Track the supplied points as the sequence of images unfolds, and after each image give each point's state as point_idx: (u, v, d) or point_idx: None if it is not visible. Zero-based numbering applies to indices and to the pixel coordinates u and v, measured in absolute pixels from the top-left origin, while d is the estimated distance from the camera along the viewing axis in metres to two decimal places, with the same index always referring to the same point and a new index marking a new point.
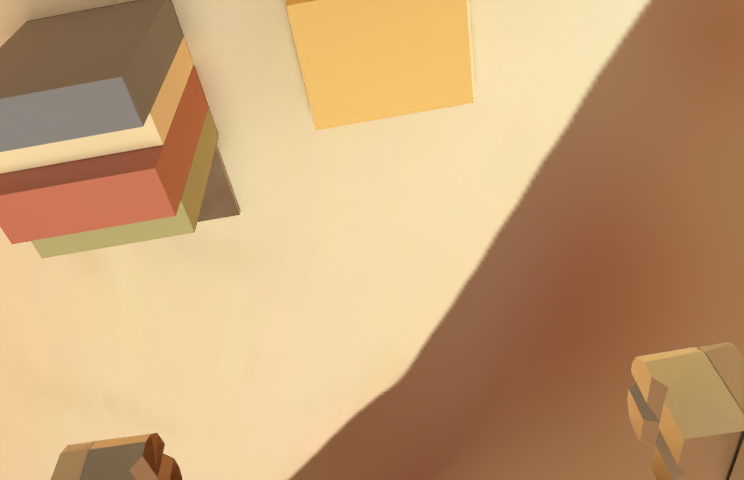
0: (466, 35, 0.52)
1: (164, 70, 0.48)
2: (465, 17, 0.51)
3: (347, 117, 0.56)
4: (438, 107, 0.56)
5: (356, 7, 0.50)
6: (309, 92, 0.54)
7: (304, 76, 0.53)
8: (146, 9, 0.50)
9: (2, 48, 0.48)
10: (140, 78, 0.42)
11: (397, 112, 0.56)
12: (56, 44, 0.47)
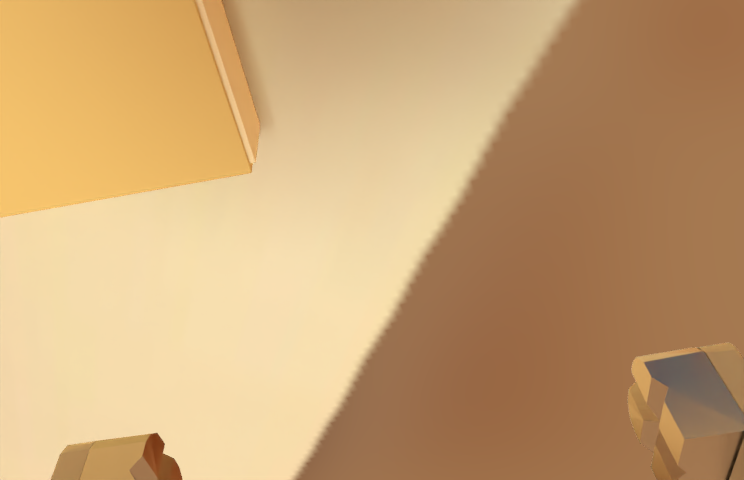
0: (202, 43, 0.24)
1: None
2: (188, 5, 0.24)
3: (5, 203, 0.28)
4: (183, 182, 0.28)
5: None
6: None
7: None
8: None
9: None
10: None
11: (103, 192, 0.28)
12: None
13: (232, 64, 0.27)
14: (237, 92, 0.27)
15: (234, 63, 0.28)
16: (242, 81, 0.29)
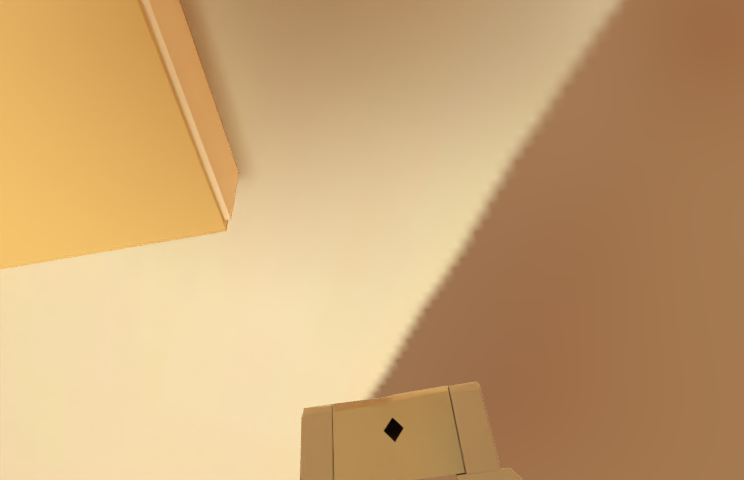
0: (165, 91, 0.21)
1: None
2: (148, 49, 0.20)
3: None
4: (149, 241, 0.25)
5: None
6: None
7: None
8: None
9: None
10: None
11: (59, 252, 0.25)
12: None
13: (204, 110, 0.24)
14: (209, 142, 0.24)
15: (207, 109, 0.24)
16: (217, 127, 0.25)
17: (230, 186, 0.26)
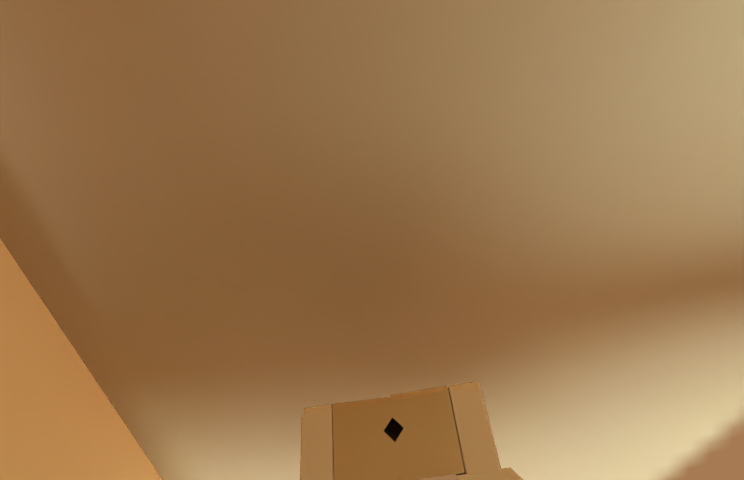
0: None
1: None
2: None
3: None
4: None
5: None
6: None
7: None
8: None
9: None
10: None
11: None
12: None
13: None
14: None
15: None
16: None
17: None
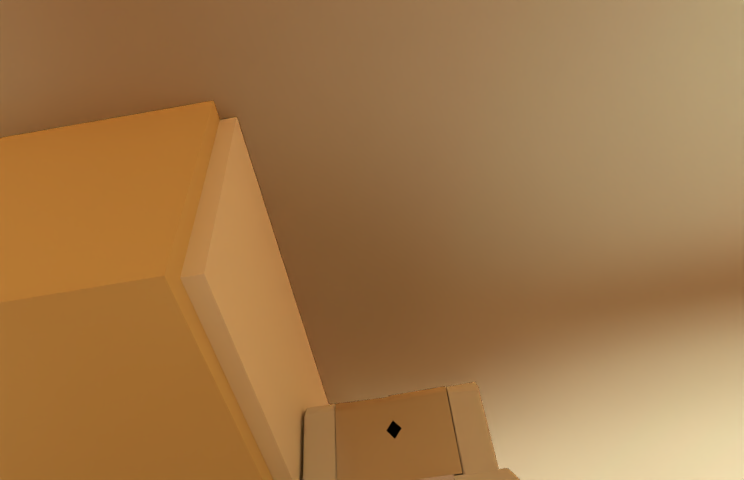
0: None
1: None
2: (242, 475, 0.08)
3: None
4: None
5: None
6: None
7: None
8: None
9: None
10: None
11: None
12: None
13: None
14: None
15: None
16: None
17: None
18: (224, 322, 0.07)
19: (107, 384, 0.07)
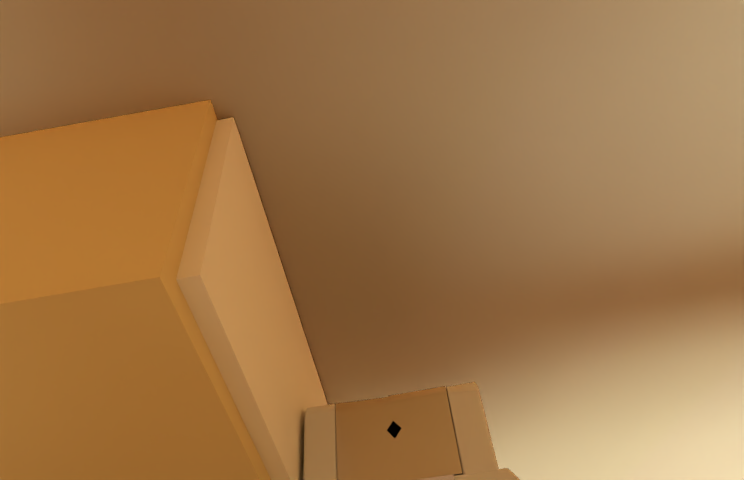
0: None
1: None
2: (241, 476, 0.08)
3: None
4: None
5: None
6: None
7: None
8: None
9: None
10: None
11: None
12: None
13: None
14: None
15: None
16: None
17: None
18: (221, 325, 0.07)
19: (103, 387, 0.07)
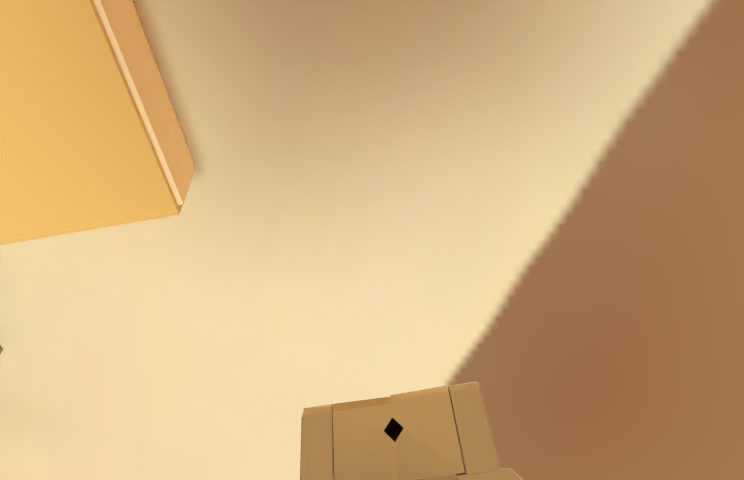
0: (121, 89, 0.25)
1: None
2: (105, 53, 0.24)
3: None
4: (112, 223, 0.29)
5: None
6: None
7: None
8: None
9: None
10: None
11: (32, 233, 0.29)
12: None
13: (159, 108, 0.28)
14: (163, 136, 0.28)
15: (162, 107, 0.28)
16: (172, 124, 0.29)
17: (184, 176, 0.30)
18: None
19: (57, 3, 0.23)
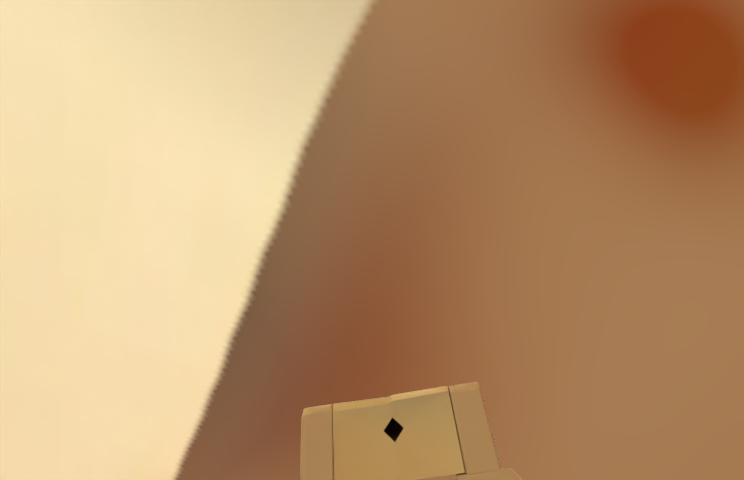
0: None
1: None
2: None
3: None
4: None
5: None
6: None
7: None
8: None
9: None
10: None
11: None
12: None
13: None
14: None
15: None
16: None
17: None
18: None
19: None
